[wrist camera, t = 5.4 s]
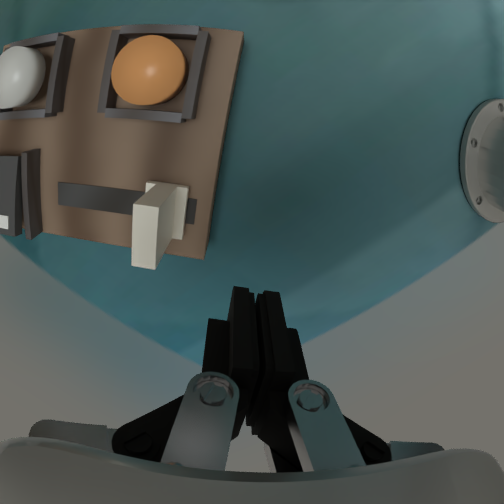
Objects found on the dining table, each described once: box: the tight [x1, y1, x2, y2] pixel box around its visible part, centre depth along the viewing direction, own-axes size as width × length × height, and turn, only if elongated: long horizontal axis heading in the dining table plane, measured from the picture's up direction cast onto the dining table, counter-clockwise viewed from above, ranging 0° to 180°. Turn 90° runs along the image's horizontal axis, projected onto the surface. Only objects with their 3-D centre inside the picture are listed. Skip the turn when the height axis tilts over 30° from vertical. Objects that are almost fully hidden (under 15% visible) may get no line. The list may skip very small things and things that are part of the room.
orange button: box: [111, 35, 188, 105], centre depth 15 cm, size 4×4×2 cm
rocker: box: [0, 156, 22, 237], centre depth 17 cm, size 4×6×1 cm
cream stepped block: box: [132, 181, 189, 270], centre depth 18 cm, size 3×4×5 cm
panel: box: [0, 24, 244, 260], centre depth 18 cm, size 20×16×5 cm
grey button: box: [0, 46, 46, 109], centre depth 13 cm, size 4×4×2 cm
